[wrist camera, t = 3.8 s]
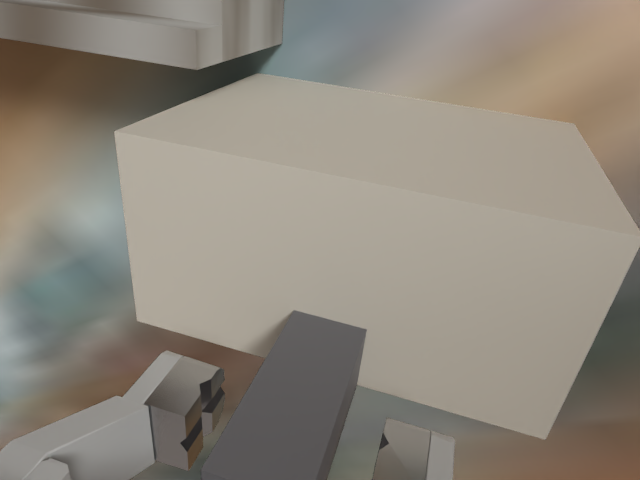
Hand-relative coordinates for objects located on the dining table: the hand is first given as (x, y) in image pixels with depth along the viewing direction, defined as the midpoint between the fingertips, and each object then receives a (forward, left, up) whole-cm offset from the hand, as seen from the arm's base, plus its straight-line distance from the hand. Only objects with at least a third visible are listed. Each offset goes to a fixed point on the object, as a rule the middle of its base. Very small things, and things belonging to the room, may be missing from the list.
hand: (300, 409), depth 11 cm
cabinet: (0, -2, -11) cm, 11 cm away
